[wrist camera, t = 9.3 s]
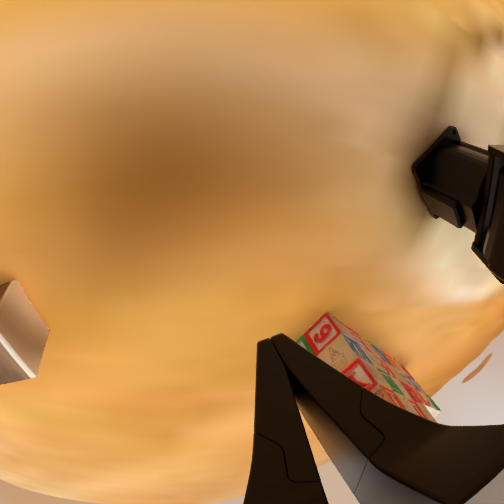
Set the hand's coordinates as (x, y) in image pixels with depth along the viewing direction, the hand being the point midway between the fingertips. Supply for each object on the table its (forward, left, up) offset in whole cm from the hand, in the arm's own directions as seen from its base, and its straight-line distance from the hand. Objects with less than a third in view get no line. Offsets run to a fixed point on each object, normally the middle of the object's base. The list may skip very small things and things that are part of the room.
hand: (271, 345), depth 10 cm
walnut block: (+14, -5, -10) cm, 18 cm away
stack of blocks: (+2, +25, -12) cm, 28 cm away
